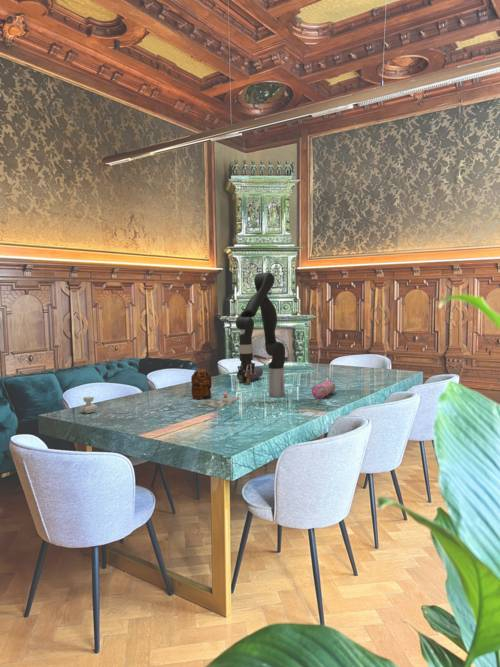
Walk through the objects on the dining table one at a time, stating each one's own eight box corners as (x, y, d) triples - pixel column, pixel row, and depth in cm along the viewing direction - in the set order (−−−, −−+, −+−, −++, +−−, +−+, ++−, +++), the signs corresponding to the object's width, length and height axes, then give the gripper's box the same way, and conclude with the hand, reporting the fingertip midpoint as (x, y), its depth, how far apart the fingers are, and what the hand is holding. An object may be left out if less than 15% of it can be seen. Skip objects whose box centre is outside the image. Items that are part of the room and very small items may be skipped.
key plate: (229, 397, 274) (229, 390, 273) (239, 399, 269) (239, 391, 269) (220, 400, 267) (220, 392, 267) (231, 401, 262) (230, 394, 262)
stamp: (93, 410, 249) (93, 394, 248) (99, 411, 244) (99, 396, 244) (78, 413, 243) (77, 397, 242) (83, 415, 238) (83, 399, 237)
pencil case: (322, 392, 286) (322, 377, 285) (336, 393, 281) (336, 378, 281) (310, 398, 267) (310, 383, 267) (325, 400, 263) (325, 384, 262)
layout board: (215, 400, 267) (215, 398, 267) (234, 403, 258) (234, 400, 258) (199, 405, 256) (199, 402, 256) (218, 408, 247) (218, 405, 247)
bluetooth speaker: (247, 384, 318) (246, 369, 318) (236, 382, 323) (235, 369, 323) (263, 379, 337) (263, 365, 336) (253, 378, 342) (253, 364, 342)
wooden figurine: (195, 400, 268) (194, 370, 266) (191, 398, 273) (190, 369, 272) (213, 398, 274) (212, 368, 273) (208, 396, 279) (207, 367, 278)
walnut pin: (246, 383, 260) (245, 369, 259) (252, 384, 258) (251, 370, 257) (242, 384, 257) (241, 371, 256) (247, 385, 254) (247, 371, 254)
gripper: (243, 354, 248) (244, 384, 249) (258, 351, 259) (259, 380, 261) (232, 353, 252) (234, 383, 254) (248, 350, 264) (249, 379, 265)
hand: (247, 382), depth 257 cm, fingers closed on walnut pin, 4 cm apart
